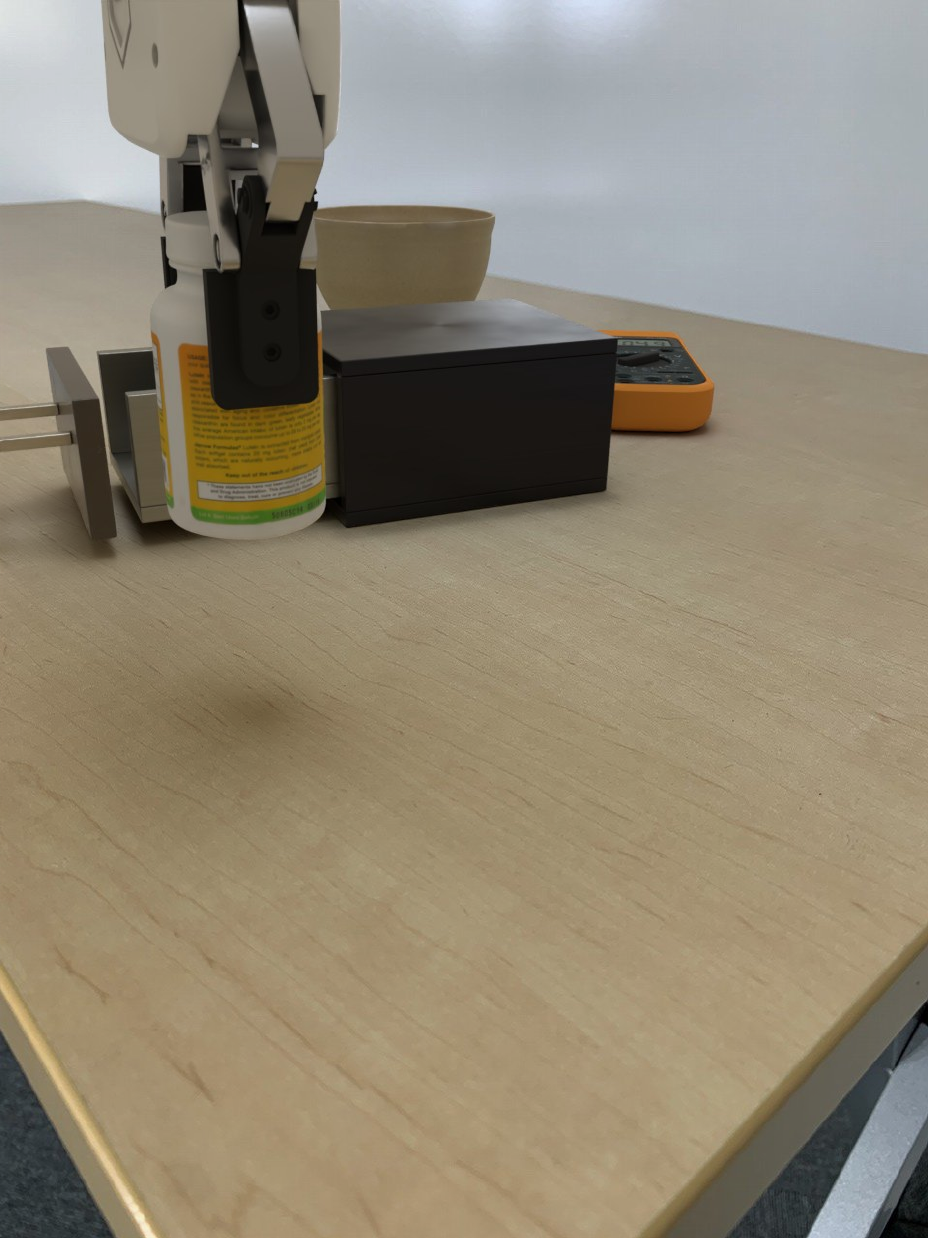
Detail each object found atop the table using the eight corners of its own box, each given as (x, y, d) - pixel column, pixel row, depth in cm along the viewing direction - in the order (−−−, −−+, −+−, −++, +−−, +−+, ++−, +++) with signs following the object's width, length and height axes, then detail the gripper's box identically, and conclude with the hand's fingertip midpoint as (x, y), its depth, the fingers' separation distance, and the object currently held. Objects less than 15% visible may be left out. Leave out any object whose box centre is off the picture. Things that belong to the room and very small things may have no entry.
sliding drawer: (-40, 559, 50) (-70, 412, 47) (-49, 482, 59) (-74, 355, 56) (379, 502, 58) (376, 373, 55) (313, 442, 67) (308, 329, 64)
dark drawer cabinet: (346, 527, 57) (341, 361, 53) (279, 457, 67) (270, 313, 63) (606, 490, 63) (618, 337, 59) (508, 431, 73) (513, 297, 69)
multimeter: (585, 434, 73) (589, 382, 71) (568, 369, 89) (571, 326, 87) (715, 437, 72) (722, 385, 71) (675, 372, 89) (679, 328, 87)
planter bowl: (519, 335, 100) (524, 208, 96) (442, 372, 87) (443, 227, 82) (365, 318, 106) (362, 198, 102) (271, 350, 93) (263, 214, 88)
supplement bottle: (358, 515, 38) (356, 221, 34) (233, 558, 35) (213, 235, 30) (260, 476, 41) (246, 202, 37) (136, 511, 38) (104, 212, 33)
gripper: (13, -279, 33) (85, 328, 41) (95, -501, 19) (178, 475, 28) (257, -243, 36) (279, 318, 44) (480, -415, 22) (451, 446, 30)
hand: (240, 372), depth 36 cm, fingers closed on supplement bottle, 5 cm apart
